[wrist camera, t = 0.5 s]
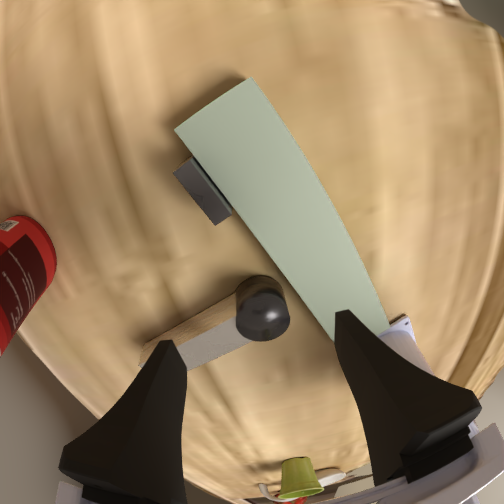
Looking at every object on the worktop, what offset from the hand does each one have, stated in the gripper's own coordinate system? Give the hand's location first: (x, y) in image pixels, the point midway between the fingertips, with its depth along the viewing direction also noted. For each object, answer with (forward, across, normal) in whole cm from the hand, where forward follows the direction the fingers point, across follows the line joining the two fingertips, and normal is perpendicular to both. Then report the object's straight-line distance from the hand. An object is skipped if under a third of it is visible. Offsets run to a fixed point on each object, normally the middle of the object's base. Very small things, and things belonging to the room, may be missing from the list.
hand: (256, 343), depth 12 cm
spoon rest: (+11, -2, +72) cm, 73 cm away
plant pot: (+11, -1, +53) cm, 54 cm away
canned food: (+10, +20, -3) cm, 23 cm away
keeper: (+10, +2, -5) cm, 11 cm away
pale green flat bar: (+10, -5, +1) cm, 11 cm away
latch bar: (+10, +5, +7) cm, 13 cm away
